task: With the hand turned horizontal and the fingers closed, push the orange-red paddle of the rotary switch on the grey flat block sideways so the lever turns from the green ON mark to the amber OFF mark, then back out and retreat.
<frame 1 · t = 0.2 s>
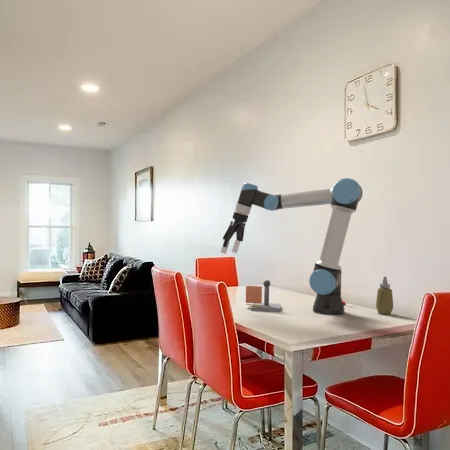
hand: (228, 252, 218), 28 cm above the table, tool tilted 20°, fingers open, 13 cm apart
squeeze bottle: (384, 314, 209), on the table
tow hook: (337, 303, 237), on the table
grey flat block: (266, 308, 216), on the table
lever: (258, 292, 217), point 8 cm above the table, hinge at 0.0°
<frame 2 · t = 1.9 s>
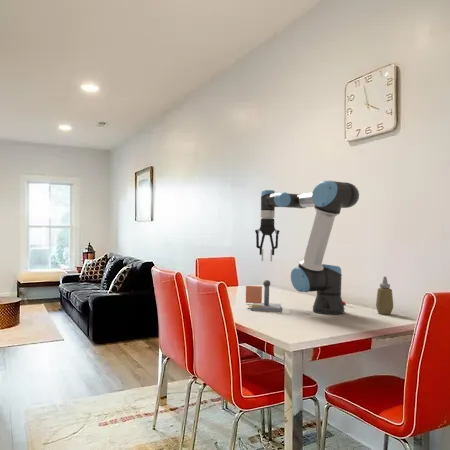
hand: (266, 261, 234), 23 cm above the table, tool pointing down, fingers open, 4 cm apart
nothing on the table moved.
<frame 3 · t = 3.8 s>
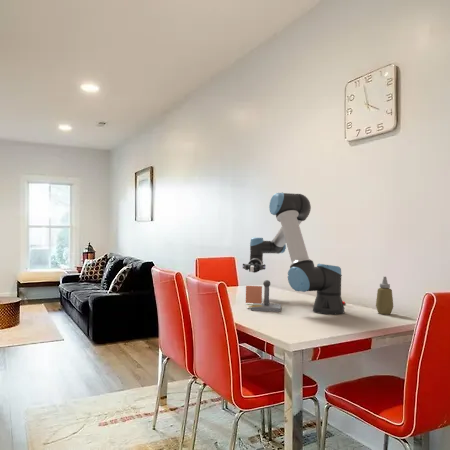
hand: (251, 269, 221), 19 cm above the table, tool horizontal, fingers closed
nothing on the table moved.
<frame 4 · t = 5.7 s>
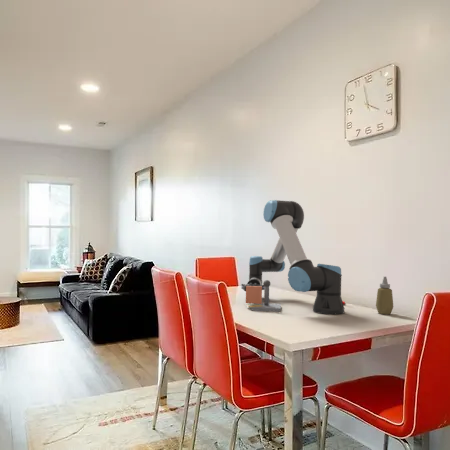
hand: (250, 291, 218), 8 cm above the table, tool horizontal, fingers closed
lever: (258, 292, 216), point 8 cm above the table, hinge at 5.7°, touching gripper
everything else where it was.
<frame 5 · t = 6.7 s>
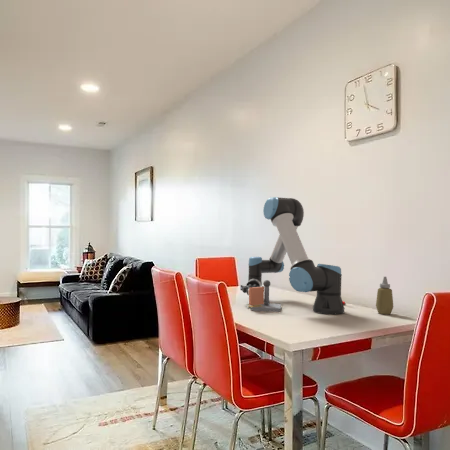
hand: (249, 292, 212), 8 cm above the table, tool horizontal, fingers closed
lever: (259, 293, 214), point 8 cm above the table, hinge at 41.7°, touching gripper
everything else where it was.
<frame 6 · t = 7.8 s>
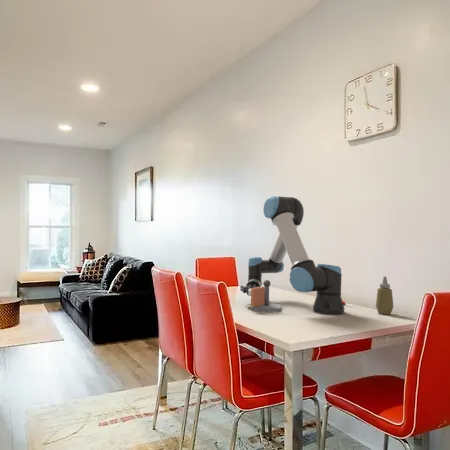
hand: (249, 293, 210), 8 cm above the table, tool horizontal, fingers closed
lever: (260, 293, 213), point 8 cm above the table, hinge at 50.6°, touching gripper
everything else where it was.
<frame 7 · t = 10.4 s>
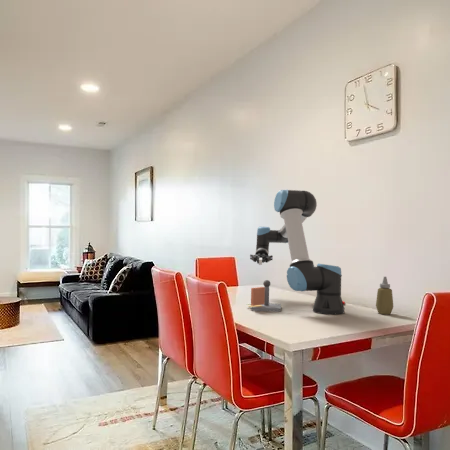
hand: (260, 262, 225), 23 cm above the table, tool horizontal, fingers closed
lever: (260, 293, 213), point 8 cm above the table, hinge at 50.7°
everything else where it was.
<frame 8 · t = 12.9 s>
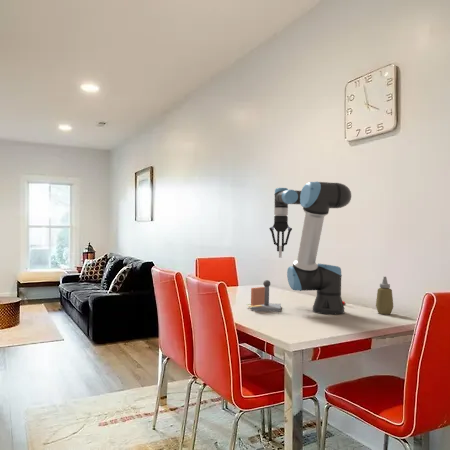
hand: (280, 257, 241), 24 cm above the table, tool pointing down, fingers closed
nothing on the table moved.
at the end: lever at +51° (first picture: +0°) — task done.
